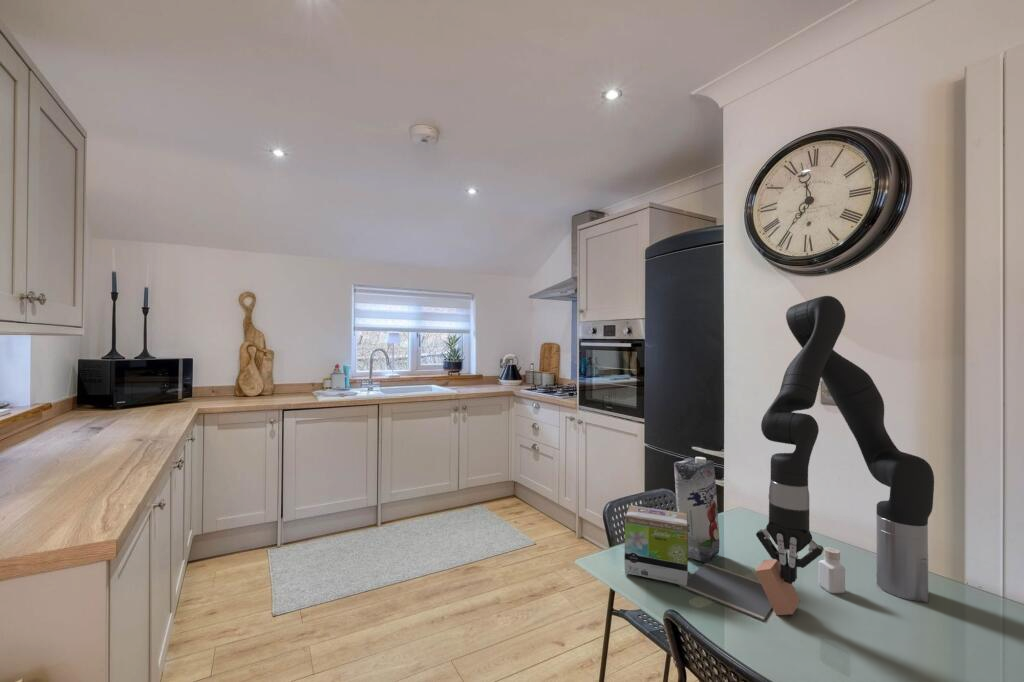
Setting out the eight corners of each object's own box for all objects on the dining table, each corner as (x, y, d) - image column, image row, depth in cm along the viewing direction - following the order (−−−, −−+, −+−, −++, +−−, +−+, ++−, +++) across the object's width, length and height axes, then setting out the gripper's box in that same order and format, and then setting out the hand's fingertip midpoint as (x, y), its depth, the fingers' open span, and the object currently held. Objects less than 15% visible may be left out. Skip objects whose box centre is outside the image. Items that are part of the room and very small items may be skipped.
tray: (782, 592, 102) (782, 589, 102) (763, 621, 91) (763, 619, 91) (705, 564, 115) (705, 562, 115) (679, 587, 103) (679, 585, 103)
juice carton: (675, 555, 119) (669, 457, 121) (692, 544, 126) (686, 452, 128) (707, 565, 113) (700, 461, 115) (723, 553, 120) (717, 455, 122)
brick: (800, 600, 96) (778, 558, 99) (792, 614, 91) (770, 568, 94) (784, 602, 98) (763, 560, 101) (776, 615, 93) (754, 571, 96)
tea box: (623, 575, 108) (623, 515, 109) (628, 558, 117) (628, 503, 118) (688, 587, 102) (687, 524, 103) (687, 569, 111) (687, 511, 112)
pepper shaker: (846, 594, 101) (846, 553, 102) (830, 594, 101) (830, 554, 101) (832, 584, 105) (832, 546, 106) (817, 585, 105) (817, 546, 105)
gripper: (828, 506, 93) (828, 587, 92) (760, 491, 102) (759, 564, 101) (822, 515, 87) (822, 601, 87) (750, 498, 96) (750, 576, 96)
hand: (788, 581), depth 94 cm, fingers closed
